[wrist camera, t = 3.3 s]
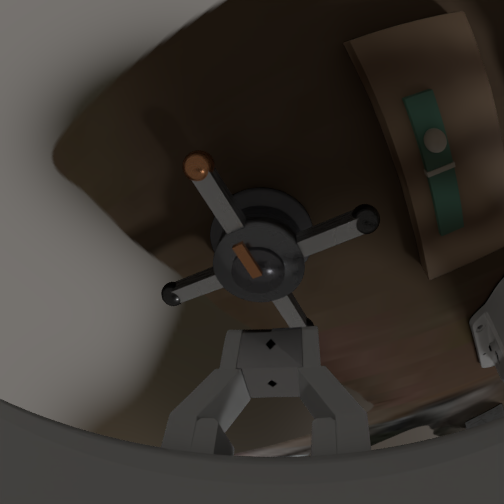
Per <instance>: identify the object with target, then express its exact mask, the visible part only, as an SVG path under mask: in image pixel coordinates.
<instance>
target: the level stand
mask: <svg viewBox="0 0 504 504" xmlns="http://www.w3.org/2000/svg"><path fill="white" fill-rule="evenodd" d="M343 45H344V47H345V48H346V50H347V52H348V54H349V56H350V58H351V60H352V62H353V64H354V66H355V69H356V71H357V73H358V75H359V77H360V79H361V81H362V84H363V86H364V88H365V90H366V92H367V95H368V97H369V99H370V102H371V104H372V106H373V109H374V111H375V114H376V116H377V119H378V121H379V124H380V126H381V129H382V132H383V134H384V137H385V140H386V142H387V145H388V148H389V151H390V153H391V156H392V159H393V162H394V165H395V168H396V171H397V174H398V178H399V181H400V184H401V187H402V191H403V194H404V197H405V201H406V204H407V208H408V212H409V215H410V219H411V223H412V227H413V231H414V235H415V239H416V244H417V248H418V253H419V257H420V262H421V266H422V267H423V269H424V271H425V273H426V275H427V277H428V279H429V280H431V279H434V278H436V277H439V276H441V275H443V274H446V273H448V272H450V271H453V270H455V269H457V268H459V267H462V266H464V265H466V264H468V263H471V262H473V261H475V260H477V259H479V258H481V257H484V256H486V255H488V254H490V253H492V252H494V251H496V250H498V249H500V248H502V247H504V150H503V143H502V137H501V131H500V126H499V121H498V116H497V112H496V107H495V103H494V99H493V95H492V91H491V87H490V83H489V80H488V76H487V73H486V70H485V67H484V63H483V60H482V57H481V54H480V51H479V49H478V46H477V43H476V40H475V38H474V35H473V32H472V30H471V27H470V25H469V23H468V20H467V18H466V15H465V13H464V11H459V12H452V13H446V14H441V15H437V16H432V17H428V18H423V19H419V20H415V21H411V22H407V23H404V24H400V25H396V26H393V27H389V28H386V29H383V30H379V31H376V32H373V33H370V34H367V35H364V36H361V37H358V38H355V39H352V40H349V41H347V42H344V43H343Z"/></svg>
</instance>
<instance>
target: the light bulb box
mask: <svg viewBox="0 0 504 504" xmlns="http://www.w3.org/2000/svg"><path fill="white" fill-rule="evenodd" d="M503 416H504V408H503V405H502V403H501V404H500V405H498V406H496V407H494V408H493V409H491V410H489V411H487V412H485V413H483V414H481V415H479V416H477V417H475V418H473V419H471V420H469V421H467V422H465V425H466V429H469V428H472V427H475V426H478V425H481V424H484V423H487V422H490V421H493V420H495V419H498V418H501V417H503Z"/></svg>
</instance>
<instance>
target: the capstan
mask: <svg viewBox="0 0 504 504" xmlns="http://www.w3.org/2000/svg"><path fill="white" fill-rule="evenodd" d="M183 172H184V174H185V176H186V177H187V178H188V179H190V180H191V181H192V182H193V183H194V185H195V186H196V188H197V189H198V191H199V192H200V194H201V195H202V197H203V198H204V200H205V201H206V203H207V204H208V206H209V207H210V209H211V211H212V212H213V214H214V215H215V217H216V218H217V220H218V221H219V223H220V224H221V226H222V227H223V229H222V232H221V235H220V239H219V242H218V245H217V248H216V251H215V254H214V259H213V267H211V268H208V269H206V270H203V271H201V272H198V273H196V274H193V275H191V276H188V277H186V278H183V279H181V280H178V281H176V282H169V283H167V284H166V285H165V286H164V287H163V289H162V292H161V294H162V299H163V301H164V302H165V303H166V304H168V305H170V306H177V305H179V304H181V303H182V302H184V301H187V300H190V299H192V298H195V297H198V296H201V295H204V294H206V293H209V292H212V291H215V290H218V289H220V288H223V287H224V288H225V289H226V290H227V291H229V292H230V293H231V294H233V295H235V296H237V297H239V298H241V299H245V300H248V301H254V302H269V301H272V302H273V303H274V305H275V306H276V308H277V309H278V310H279V312H280V313H281V315H282V316H283V318H284V319H285V321H286V322H287V324H288V325H289V327H290V328H292V327H309V326H314V324H313V322H312V321H311V320H310V319H308V318H307V317H306V315H305V313H304V312H303V310H302V308H301V307H300V305H299V303H298V302H297V300H296V298H295V297H294V295H293V293H292V292H293V291H294V290H295V289H296V288H297V286H298V285H299V284H300V282H301V280H302V278H303V275H304V269H305V266H304V257H306V256H309V255H311V254H314V253H317V252H319V251H322V250H324V249H327V248H330V247H332V246H335V245H337V244H340V243H342V242H345V241H347V240H350V239H353V238H355V237H358V236H360V235H363V234H370V233H372V232H374V231H375V230H376V229H377V228H378V226H379V223H380V216H379V213H378V211H377V210H376V209H375V208H374V207H373V206H371V205H368V204H362V205H359V206H357V207H356V208H355V209H354V210H352V211H349V212H347V213H344V214H342V215H339V216H337V217H334V218H332V219H329V220H327V221H324V222H322V223H320V224H317V225H315V226H312V227H310V228H307V229H305V230H302V231H300V229H299V226H298V225H297V223H296V222H295V221H294V219H293V218H292V217H290V216H289V215H288V214H287V213H285V212H283V211H281V210H279V209H277V208H274V207H270V206H250V207H246V208H244V209H240V207H239V205H238V204H237V202H236V201H235V199H234V197H233V196H232V194H231V192H230V191H229V189H228V188H227V186H226V184H225V183H224V181H223V180H222V178H221V176H220V175H219V173H218V172H217V170H216V168H215V164H214V160H213V158H212V157H211V155H210V154H208V153H207V152H205V151H201V150H197V151H193V152H191V153H189V154H188V155H187V156H186V157H185V159H184V161H183Z"/></svg>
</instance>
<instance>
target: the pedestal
mask: <svg viewBox="0 0 504 504" xmlns="http://www.w3.org/2000/svg"><path fill="white" fill-rule="evenodd" d="M232 196H233V197H234V199H235V201H236V202H237V204H238V205H239V207H240V209H244V208H246V207H250V206H270V207H274V208H277V209H279V210H281V211H283V212H285V213H287V214H288V215H289V216H290V217H292V218H293V219H294V221H295V222H296V223H297V225H298V226H299V229H300V231H302V230H305V229H307V228H310V227H312V222H311V219H310V217H309V215H308V213H307V211H306V210H305V208H304V207H303V206H302V205H301V204H300V203H299V202H298V201H297V200H296V199H295V198H293V197H292V196H290V195H288V194H286V193H284V192H282V191H279V190H275V189H271V188H251V189H247V190H243V191H241V192H238V193H236V194H234V195H232ZM222 229H223V227H222V226H221V224H220V223H219V221H218V220H217V218H216V217H214V220H213V223H212V225H211V231H210V238H211V244H212V248H213V250H214V252H215V251H216V248H217V245H218V242H219V239H220V235H221V232H222ZM308 257H309V256H306V257H304V263H305V262H306V260H307V259H308Z"/></svg>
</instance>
